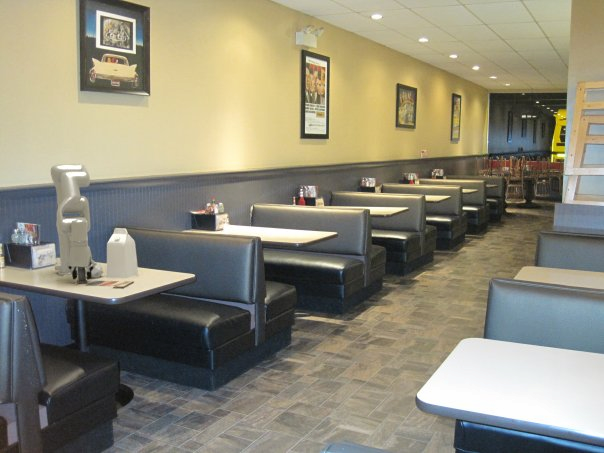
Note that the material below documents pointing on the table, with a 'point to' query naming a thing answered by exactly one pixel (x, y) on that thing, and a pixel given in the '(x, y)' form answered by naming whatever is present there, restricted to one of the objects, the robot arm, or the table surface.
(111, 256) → the milk
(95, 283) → the game board
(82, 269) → the pawn
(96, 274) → the white faceted ball
